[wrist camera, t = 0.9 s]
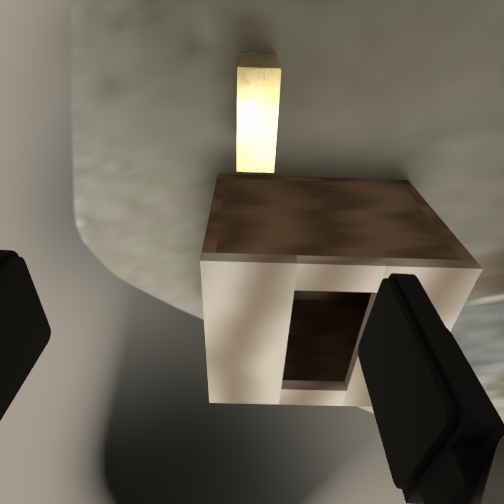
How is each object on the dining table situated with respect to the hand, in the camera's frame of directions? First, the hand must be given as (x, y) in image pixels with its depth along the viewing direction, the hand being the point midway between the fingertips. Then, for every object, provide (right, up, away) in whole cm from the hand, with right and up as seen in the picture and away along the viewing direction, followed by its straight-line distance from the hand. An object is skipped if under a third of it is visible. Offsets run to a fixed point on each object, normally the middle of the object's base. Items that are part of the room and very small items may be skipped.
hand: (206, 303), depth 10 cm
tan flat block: (+2, +13, +17) cm, 21 cm away
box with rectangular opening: (+6, +2, +24) cm, 25 cm away
